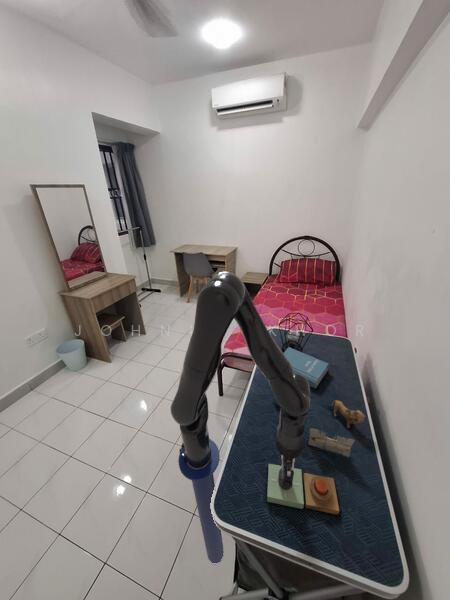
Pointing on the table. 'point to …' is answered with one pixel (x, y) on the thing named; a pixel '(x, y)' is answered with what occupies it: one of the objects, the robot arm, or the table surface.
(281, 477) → the knob
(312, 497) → the button box
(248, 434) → the table surface
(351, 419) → the lion figurine
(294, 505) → the green dial box
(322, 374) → the book
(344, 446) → the comb
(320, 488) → the button
